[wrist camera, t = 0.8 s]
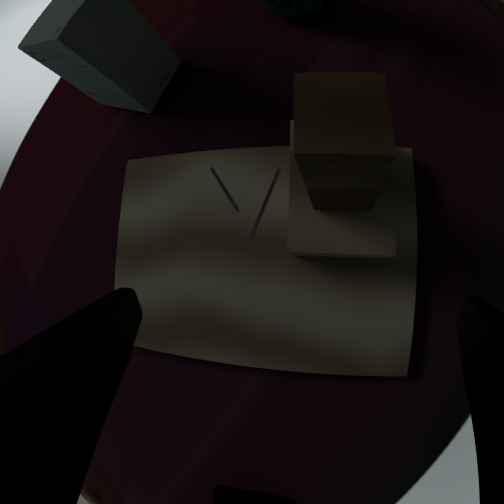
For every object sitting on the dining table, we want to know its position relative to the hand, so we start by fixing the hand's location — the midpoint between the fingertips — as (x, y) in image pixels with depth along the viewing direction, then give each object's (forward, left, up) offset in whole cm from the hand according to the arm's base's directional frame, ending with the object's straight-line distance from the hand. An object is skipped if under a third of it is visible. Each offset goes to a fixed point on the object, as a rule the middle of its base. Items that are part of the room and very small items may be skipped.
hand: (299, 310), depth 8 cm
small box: (+19, +18, -14) cm, 30 cm away
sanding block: (+6, -1, -12) cm, 14 cm away
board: (+2, +5, -14) cm, 15 cm away
